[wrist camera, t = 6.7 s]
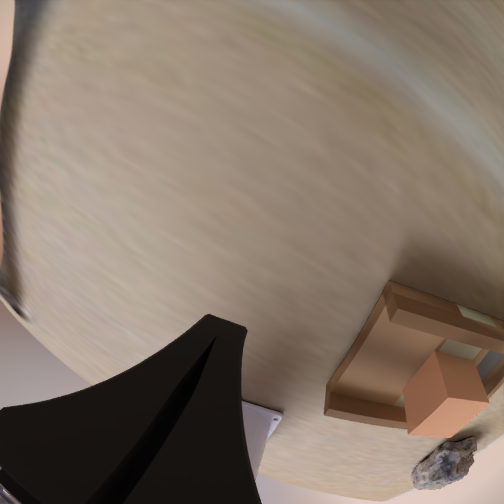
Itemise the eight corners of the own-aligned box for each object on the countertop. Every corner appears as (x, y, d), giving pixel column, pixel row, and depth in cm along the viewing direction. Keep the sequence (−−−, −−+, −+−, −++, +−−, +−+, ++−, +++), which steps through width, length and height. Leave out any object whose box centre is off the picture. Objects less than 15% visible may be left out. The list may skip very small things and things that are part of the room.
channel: (458, 409, 21) (464, 433, 18) (326, 385, 22) (323, 415, 19) (525, 329, 16) (540, 352, 13) (388, 280, 17) (397, 308, 14)
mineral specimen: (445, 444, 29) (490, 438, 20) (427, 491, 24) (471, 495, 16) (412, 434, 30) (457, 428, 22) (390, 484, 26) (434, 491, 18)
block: (441, 396, 18) (450, 437, 14) (402, 389, 19) (407, 434, 15) (473, 360, 16) (489, 402, 12) (434, 350, 17) (448, 397, 13)
